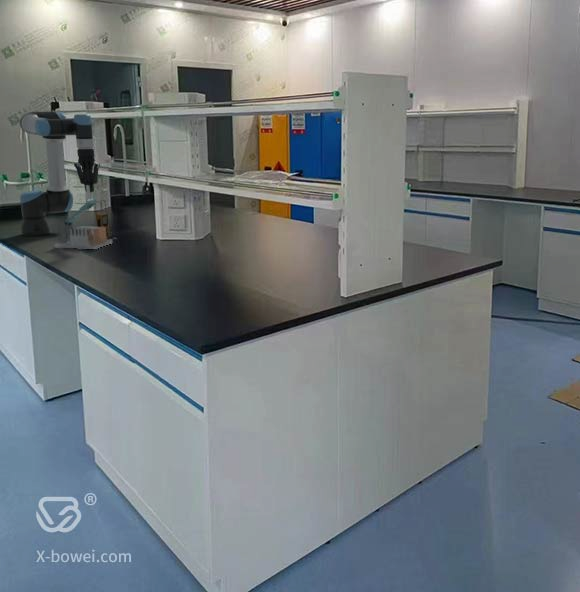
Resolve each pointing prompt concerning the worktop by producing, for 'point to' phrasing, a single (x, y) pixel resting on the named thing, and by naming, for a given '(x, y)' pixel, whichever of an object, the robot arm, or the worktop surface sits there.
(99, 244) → the heatsink base
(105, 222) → the multimeter
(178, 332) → the worktop surface
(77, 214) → the lever
